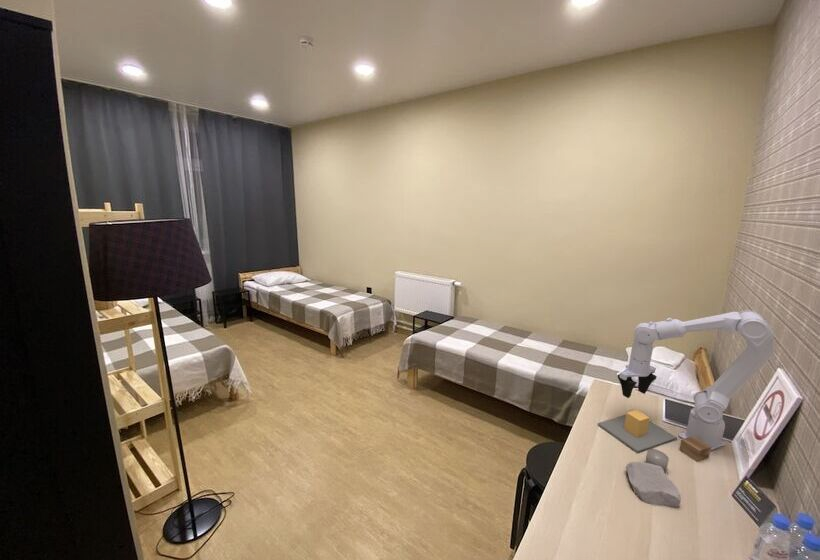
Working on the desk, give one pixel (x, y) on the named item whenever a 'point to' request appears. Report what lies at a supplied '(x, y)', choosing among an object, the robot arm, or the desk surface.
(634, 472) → the stone block
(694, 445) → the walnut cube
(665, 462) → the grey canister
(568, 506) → the desk surface
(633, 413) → the ochre block
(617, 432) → the slate mat
